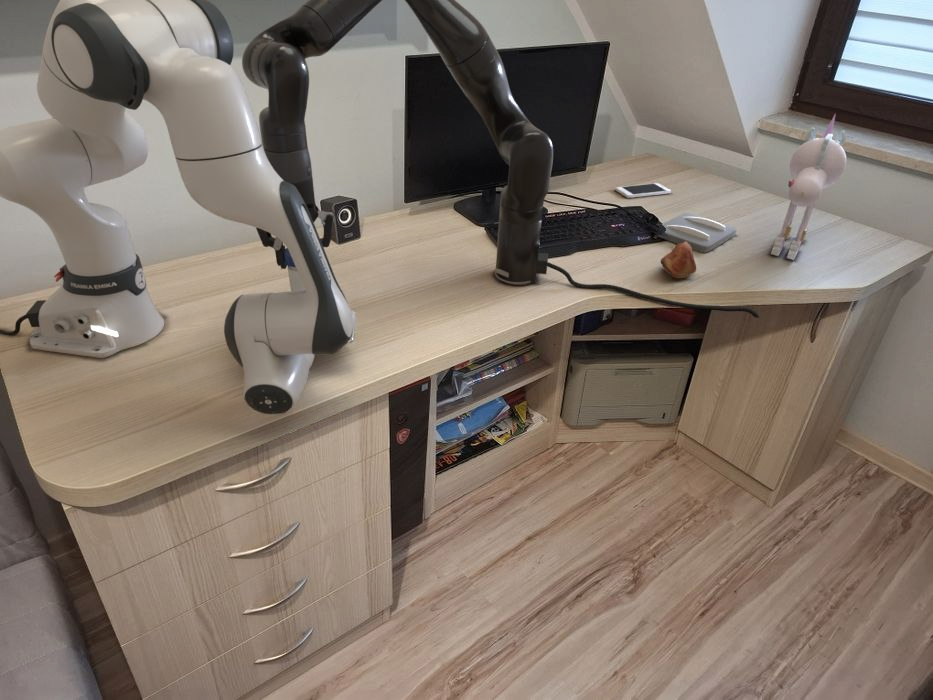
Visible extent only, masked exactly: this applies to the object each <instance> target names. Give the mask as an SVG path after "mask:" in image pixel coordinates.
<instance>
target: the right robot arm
mask: <svg viewBox="0 0 933 700" xmlns="http://www.w3.org/2000/svg"><path fill="white" fill-rule="evenodd" d="M382 1H383V0H306V1H305V2H304V3H303V4H302V5H301V6H300V7H298V9H296V11H295V12H294V13H292V14H290V15H289V16H287V17H285V18H283V19H281V20H280V21H278V22H276V23H275V24H273V25H271V26H269V27H268V28H266V29H265V30H263V31H261V32H260V33H258V34H257V35H255V37H253V39H251V40H250V42H249V43H248V44H247V46H246V47H245V49H244V51H243V52H242V53H243V54H242V58H241V66H242V70H243V73H244V75H245V77H246V78H247V80H249V81H250V82H251V83H252V84H253V85H255V86H256V87H259V88H262V89H265V90H267V92H268V101H267V102H268V103H267V104H268V106H267V107H265V108H263V109H262V110H261V111H260V112H259V115H258V124H259V125H258V126H259V132H260V136H261V140H262V144H263V148H264V151H265V154H266V156H267V158H268V160H269V162H270V164H271V166H272V167H273V169H274V170H275V171H276V173H277V174H278V175H279V176H280V177H281V178H282V179H283V180H284V181H286V182H288V183H290V184H292V185H294V186H295V187H296V188H297V190H298V191H299V193H300V195H301V196H302V198H303V200H304V202H305V204H306V207H307V209H308V211H309V213H310V216H311V218H312V220H313V223H314V224H315V222H316V220H317V219H319V220H320V223H321V224H322V225H323V226H324V228H323V235H322V237H321V238H320V240H321V243H322V245H323V248H328V247H330V244H331V241H332V236H333V230H334V223H335V216H336V213H335V211H333V210H328V211H324V210H320V209H319V207H318V206H317V204H316V198H315V189H314V178H313V169H312V161H311V160H312V159H311V155H310V151H309V147H308V137H307V128H306V121H305V118H306V113H307V108H308V107H307V106H308V98H309V88H310V72H309V66H308V64H307V60H306V59H309V58H316V57H321V56H324V55H326V54H327V53H328V52H330V50H332V49H333V47H335V46H336V45H337V44H338V43H339V42H340V41H341V40H342V39H343V38H344V37H345V36H347V35H348V34H349V33H350V32H351V31H352V30H353V29H354V28H355V27H356V26H357V25H358V24H359V23H360V22H361V21H362V20H363V19H364V18H365V17H366V16H367V15H368V14H369V13H370V12H371V11H372V10H373V9H375V8H376V6H377V5H379V4H380V3H381V2H382ZM404 1H405V3H406V5H407V6H408V7H409V8H410V9H411V12H412V13H413V14H414V16H415V17H416V19H417V20H418V21H419V23H420V25H421V27H422V28H423V30H424V31H425V33H426V36H428V38H429V40H430V41H431V42H432V44H433V46H434V47H435V48H436V50H437V52H438V54H439V55H440V57H441V60H442V61H443V63H444V65H445V66H446V68H447V69H448V71H449V73H450V75H451V76H452V78H453V79H454V81H455V82H456V84H457V85H458V86H459V88H460V89H461V91H462V92H463V94H464V96H465V97H466V99H467V100H468V101H469V102H470V104H471V106H473V108H474V109H475V110H476V112H477V113H478V114H479V115H480V117H481V119H482V121H483V122H484V124H485V126H486V128H487V130H488V132H489V134H490V136H491V138H492V140H493V142H494V145H495V147H496V149H497V152H498V153H499V157H500V158H501V159H502V160H503V162H504V163H505V164H506V165H508V166H509V167H508V176H507V177H508V178H507V185H505V186H504V187H503V188H502V189H501V191H500V198H499V211H498V228H497V244H496V260H495V267H494V277H495V278H496V280H498V281H499V282H502V283H503V284H508V285H510V286H525V285H530V284H537V275H538V274H540V275H547V271H548V268H550V269H552V270H554V271H557V272H560V273H561V274H562V275H564V276H565V278H566V279H567V281H568V282H569V284H570V285H572V286H574V287H576V288H579V289H586V290H587V289H590V290H592V289H593V290H595V289H596V290H598V289H603V290H604V289H605V290H606V289H607V290H613V291H617V292H620V293H624V294H627V295H630V296H634V297H636V298H639V299H644V300H647V301H652V302H655V303H659V304H664V305H667V306H668V305H669V306H673V307H678V308H684V309H690V310H691V309H693V310H705V311H719V312H720V311H721V312H746V313H749V314H750V315H752V316H753V318H757V319H759V318H760V315H759V313H758V312H757V311H756V310H754V309H753V308H751V307H748V306H724V305H711V304H709V305H708V304H696V303H695V304H694V303H687V302H681V301H675V300H670V299H665V298H661V297H658V296H654V295H650V294H646V293H641V292H639V291H635V290H632V289H629V288H625V287H622V286H619V285H614V284H607V283H598V284H597V283H596V284H586V283H585V284H584V283H580V282H577V281H576V280H574V279H573V278H572V276H571V274H570V272H568V271H567V270H566V269H564V268H562V267H560V266H559V265H556V264H554V263H551V262H549V253H547V252H546V253H545V252H540V246H541V244H540V243H541V231H542V222H543V221H542V220H543V213H544V212H543V211H544V201H545V198H546V197H547V195H548V192H549V188H550V184H551V178H552V177H551V176H552V169H553V161H554V145H553V142H552V140H551V138H550V136H549V135H548V134H547V133H546V132H544V131H543V130H541V129H539V128H538V127H536V126H535V125H534V124H532V122H531V121H530V120H529V119H528V117H526V115H525V114H524V112H523V111H522V108H520V106H519V105H518V103H517V101H516V100H515V97H514V96H513V93H512V92H511V88H510V84H509V80H508V77H507V73H506V69H505V65H504V62H503V61H502V57H501V56H500V54H499V53H500V52H499V51H498V50H497V48H496V46H495V44H494V42H493V40H492V39H491V37H490V35H489V33H488V32H487V29H486V28H485V27H484V25H483V24H482V23H481V22H480V21H479V19H477V17H476V16H475V15H473V14H472V13H471V12H470V11H469V10H468V9H466V8H465V7H464V6H463V5H462V4H460V3H459V2H458V1H457V0H404ZM255 229H256V231H257V234H258V237H259V239H260V241H261V243H262V244H261V245H262V246H263V247H264V248H268V247H270V248H272V249H274V254H275V260H276V261H275V262H276V264H277V266H278V267H280V269H281V270H286V269H287V268H288V265H286V264H285V260H284V250H285V249H286V245H285V244H284V243H283V242H282V241H281V240H280V239H279V238H277V237H276V236H275V237H273V234H271V233H269V232H267V231H264V230H262V229H259V228H256V227H255Z"/></svg>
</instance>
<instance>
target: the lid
mask: <svg viewBox="0 0 933 700" xmlns="http://www.w3.org/2000/svg"><path fill="white" fill-rule="evenodd" d="M284 260H285V264H286V265H287V267H288V266H290V267H296V266H295V264H294V262H293V259H292V257H291V255H290V252H289V250H288V248H287V247H285V250H284Z"/></svg>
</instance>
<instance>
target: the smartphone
mask: <svg viewBox="0 0 933 700" xmlns="http://www.w3.org/2000/svg"><path fill="white" fill-rule="evenodd" d="M615 192H617V193H619V194H620V195H622V196H624V197H625V198H628V199H630V198H639V197H640V198H641V197H649V196H656V195H657V196H659V195H665V194H671V192H672V190H671V189H670V188H668V187H666V186H664V185H663V184H661V183H658V182H654V183H645V184H644V183H643V184H636V185H634V184H633V185H626V186H617V187H615Z"/></svg>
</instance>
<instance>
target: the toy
mask: <svg viewBox="0 0 933 700" xmlns="http://www.w3.org/2000/svg"><path fill="white" fill-rule="evenodd" d="M836 116H837V115H836V112H835V113H834V115H833V116H832V119H831V120H830V122H829V124H828V126H827V128H826V130H825V131H824V133H823V134H822V136H821V137H817V138H816V136H817V128H815V127H810V129H809V130H808V133H807V135H806V136H805V142H804V143H802V144H801V145H800V146H798V148H797V149H796V150H795V151H794V152H793V154H792V156H791V159H790V162H789V173H790V175H791V178H792V180H789V181H788V188H789V189H788V198H789V201H790V202H789V205H788V209H787V212H786V215H785V218H784V221H783V223H782V227H781V230H780V233H779V235H777V236H776V239H775V241H774V243H773V246H772V249H771V253H770V255H772V256H776V257H779V255H780V253H781V252H782V249H783V248H784V246H785V242H786V240H789V238H790V234H791V232H792V227H793V225H792V223H793V219H794V217H795V213H796V211H797V208H798V207H801V208H802V207H804V208H805V210H804V213H803V216H802V219H801V222H800V225H799V227H798V230H797V233H796V237H795V239H793V240H792V242H791V245H790V247H789V250H788V253H787V256H786V259H788V260H792V261H794V260H795V259H796V257H797V255H798V253H799V251H800V249H801V245H802V244H803V243H804V240H805V238H806V235H807V231H808V228H807V227H808V224H809V221H810V218H811V215H812V212H813V209H814V207H815V204H816V202H817V201H818V200H819V199H820V197H821V195H822V193H823V191H824V189H827V188H828V187H831V186H832V185H834V184H835V183H836V182H837V181H838V180H840V178H841V177H842V176H843V174H844V173H845V170H846V168H847V167H846V166H847V154H846V152H845V150H844V148H843V145H844V143H845V141H846V140H847V134H846V131H845V130H840V131H839V132H838V133H837V135H836V137H835V139H833V129H834V125H835V120H836ZM841 135H842V138H841V141H840V137H841Z"/></svg>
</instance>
